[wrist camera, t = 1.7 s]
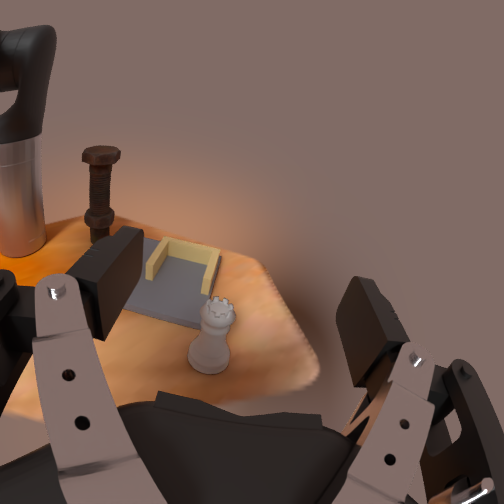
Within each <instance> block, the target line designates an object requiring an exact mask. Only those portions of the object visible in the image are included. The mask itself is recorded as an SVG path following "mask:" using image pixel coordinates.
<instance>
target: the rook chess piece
mask: <svg viewBox="0 0 504 504" xmlns="http://www.w3.org/2000/svg"><path fill="white" fill-rule="evenodd" d="M228 301H229V300H228V299H226V298H224V299H223V301H220V300H219V296H216V297H213V300H212V301H211V299H210V298H209V299H208V300H207V301H206V303H205V304H204V305H203V306H202V307H201V309H200V315H201V318H202V319H201V322H200V325H201V328H202V329H201V331H200V334H199V335H198V336H197V338H195V339H194V340H193V341H192V342H191V344H190V346H189V350H188V354H187V357H188V361H189V363H190V364H191V366H192V367H193V368H194V369H196V370H198V371H199V372H201V373H206V374H216V373H219V372H221V371H223V370H225V368H226V367H227V366H228V364H229V358H230V350H229V348H228V345H227V343H226V334H227V333H228V332H229V331H230V325H231V324H232V323H233V322H234V321H235V317H236V314H235V312H234V310H233V308H234V306H233V304H232V303H231V304H228Z"/></svg>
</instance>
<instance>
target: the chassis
mask: <svg viewBox="0 0 504 504" xmlns="http://www.w3.org/2000/svg"><path fill="white" fill-rule="evenodd" d="M220 250H221V249H217V248H213V247H208V246H204V245H200V244H196V243H192V242H188V241H183V240H179V239H175V238H171V237H167V236H164V237H163V239H162V240H161V241H157V240H153V239H149V238H145V237H144V243H143V266H142V273H141V277H140V280H139V282H138V284H137V285H136V287H135V289H134V290H133V292H132V294H131V295H130V297H129V299H128V300H127V302H126V304H125V306H124V307H123V309H127V310H130V311H133V312H136V313H140V314H143V315H146V316H150V317H153V318H157V319H160V320H164V321H168V322H171V323H175V324H179V325H183V326H187V327H191V328H194V329H199V330H201V325H200V322H201V319H202V318H201V315H200V309H201V307H202V306H203V305H204V304H205V303H206V301H207V300H208V299H209V298H210V296H211V292H212V289H213V285H214V282H215V278H216V275H217V271H218V268H219V265H220V261H221V256H219V254H220Z"/></svg>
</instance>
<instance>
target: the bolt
mask: <svg viewBox="0 0 504 504" xmlns="http://www.w3.org/2000/svg"><path fill="white" fill-rule="evenodd" d="M120 154H121V151H120V150H119V149H118V148H116V147H113V146H93V147H89V148H86V149H85V150H84V152H83V153H82V162H85V163H88V164H90V166H89V172H90V190H89V191H90V194H89V195H90V196H89V197H90V208H89V209H88V210H87V211H86V213H85V216H84V220H85V223H86V225H87V226H89V227H90V235H91V236H90V237H91V242H92V244H94V243H95V242H96V241H97V240H100V239H102V238H104V237H106V236H108V235H109V226H111V225H112V223H113V221H114V211H113V210H112V209H111V208H110V207H109V206H110V205H109V204H110V181H111V180H110V179H111V178H110V177H111V171H112V164H115V163H116V162H117V161H118V160H119V159H120Z"/></svg>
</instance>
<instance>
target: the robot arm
mask: <svg viewBox="0 0 504 504" xmlns="http://www.w3.org/2000/svg"><path fill="white" fill-rule="evenodd" d="M56 39H57V37H56V32H55V30H54V28H53V27H52V26H50V25H41V26H34V27H27V28H22V29H17V30H12V31H1V30H0V92H5V91H12V90H18V95H17V98H16V101H15V103H14V104H13V105H12V106H11V108H9V109H8V110H7V111H6V112H5V113H3V114H2V115H0V252H1V253H2V254H3V255H5V256H7V257H22V256H26V255H29V254H31V253H33V252H35V251H37V250H38V249H40V248H41V247H42V246H43V245H44V243H45V241H46V230H45V221H44V209H43V196H42V175H41V142H42V139H41V138H42V123H43V117H44V112H45V105H46V96H47V90H48V84H49V79H50V75H51V70H52V66H53V61H54V56H55V50H56V41H57V40H56ZM143 243H144V232H143V230H142V229H138V228H133V227H129V226H122V227H121V228H120V229H119V230H118V231H117V232H116V233H115V234H114V235H113V236H109V235H108V236H106V237H104V238H102V239H100V240H97V241H96V242H95V243H94V244H93V245H92V246H91V247H90V249H88V250H87V251H86V252H85V253H84V255H82V257H81V258H80V259H79V260H78V261H77V262H76V263H75V264H74V265H73V266H72V267H71V268H70V269H69V270H68V271H67V272H66V273H65V274H52V275H49V276H46V277H44V278H43V279H41V280H40V281H39V282H38V283H37V285H36V287H31V286H18V285H17V283H16V279H15V276H14V274H13V273H12V272H11V271H9V270H4V269H0V417H1V414H2V412H3V410H4V408H5V406H6V404H7V401H8V399H9V397H10V395H11V393H12V391H13V389H14V387H15V385H16V383H17V381H18V379H19V378H20V376H21V374H22V372H23V370H24V368H25V366H26V365H27V363H28V361H29V359H30V358H31V356H32V354H33V357H34V365H35V373H36V380H37V386H38V392H39V398H40V403H41V408H42V412H43V417H44V421H45V425H46V429H47V433H48V437H49V441H50V443H49V444H46V445H45V446H42V447H41V448H39V449H36V450H35V451H32V452H30V453H28V454H26V455H24V456H22V457H20V458H18V459H16V460H13V461H11V462H9V463H7V464H4V465H2V466H0V504H418V503H417V502H416V501H415V500H414V499H413V498H411V497H410V496H409V495H408V494H407V492H408V490H409V488H410V485H411V483H412V480H413V478H414V475H415V472H416V469H417V467H418V464H419V462H420V466H421V471H422V476H423V481H424V486H425V492H426V498H427V504H504V433H503V431H502V428H501V425H500V423H499V420H498V418H497V416H496V413H495V411H494V409H493V406H492V404H491V402H490V399H489V398H488V395H487V393H486V391H485V389H484V387H483V385H482V382H481V380H480V378H479V377H478V374H477V372H476V371H475V369H474V368H473V367H472V366H471V365H470V364H469V363H467V362H466V361H464V360H461V359H456V360H454V361H453V362H452V363H451V365H450V366H449V367H448V368H444V367H441V366H438V365H435V362H434V359H433V357H432V355H431V354H430V353H429V351H428V350H427V349H425V348H424V347H423V346H421V345H419V344H417V343H413V342H410V340H409V338H408V336H407V334H406V332H405V330H404V328H403V326H402V324H401V322H400V321H399V320H398V317H397V315H396V313H394V312H395V311H394V309H393V307H392V305H391V303H390V302H389V301H388V300H387V299H386V298H385V297H384V296H383V295H382V294H381V293H380V291H379V289H378V287H377V286H376V284H375V282H374V280H372V279H368V278H363V277H358V276H354V277H353V278H352V279H351V281H350V283H349V285H348V287H347V290H346V292H345V294H344V296H343V298H342V300H341V302H340V304H339V306H338V309H337V312H336V324H337V327H338V331H339V334H340V338H341V341H342V345H343V348H344V352H345V356H346V359H347V363H348V366H349V370H350V374H351V378H352V382H353V385H354V387H359V388H360V387H362V388H367V392H366V393H365V395H364V396H363V397H362V399H361V401H360V403H359V404H358V406H357V408H356V410H355V411H354V413H353V414H352V416H351V418H350V419H349V421H348V423H347V424H346V426H345V428H344V429H343V431H342V432H341V433H339V432H336V431H335V430H332V429H330V428H327V427H324V426H322V419H321V415H318V414H317V415H316V414H299V413H287V412H282V413H275V414H266V415H256V416H245V417H243V416H238V415H235V414H232V413H230V412H227V411H225V410H222V409H220V408H217V407H215V406H212V405H210V404H207V403H205V402H203V401H200V400H197V399H192V398H187V397H183V396H178V395H174V394H170V393H166V392H162V391H158V393H157V396H156V400H155V401H145V402H135V403H129V404H125V405H122V406H119V407H116V405H115V403H114V400H113V398H112V395H111V392H110V390H109V387H108V384H107V382H106V379H105V376H104V373H103V370H102V367H101V364H100V361H99V358H98V355H97V352H96V349H95V345H94V342H93V338H95V339H98V340H101V341H104V342H105V340H106V338H107V336H108V334H109V332H110V331H111V329H112V327H113V325H114V323H115V321H116V320H117V318H118V316H119V314H120V313H121V311H122V309H123V307H124V306H125V304H126V302H127V300H128V299H129V297H130V295H131V294H132V292H133V290H134V289H135V287H136V285H137V284H138V282H139V280H140V277H141V273H142V266H143ZM453 409H456V412H457V415H458V418H459V421H460V424H461V428H462V431H461V435H460V437H459V438H458V439H457V440H456V441H455V442H454V443H453V444H452V442H451V439H450V435H449V432H448V429H447V426H446V423H445V420H444V418H445V417H446V416H447V415H448V414H449V413H450V412H452V411H453Z"/></svg>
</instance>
